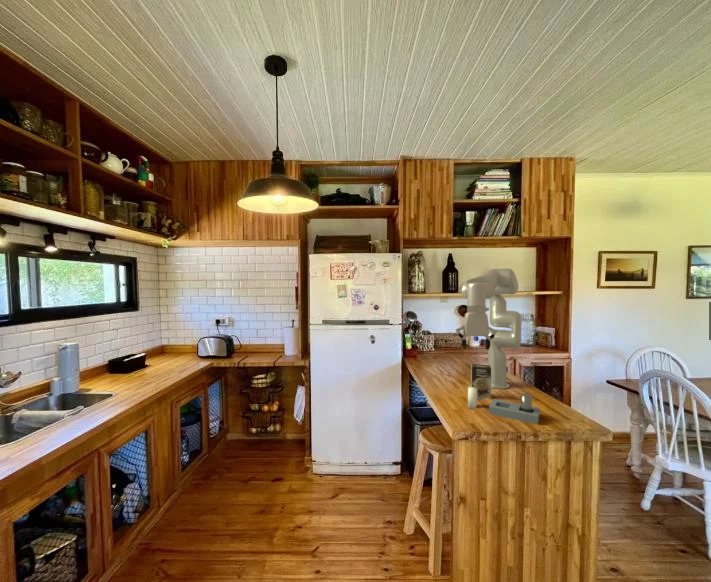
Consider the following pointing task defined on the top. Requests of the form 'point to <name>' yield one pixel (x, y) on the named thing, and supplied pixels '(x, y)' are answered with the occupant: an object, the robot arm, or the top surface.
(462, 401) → the top surface
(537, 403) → the top surface
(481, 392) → the coffee box
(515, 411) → the block
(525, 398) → the metal cylinder peg
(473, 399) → the cream rounded smooth part
